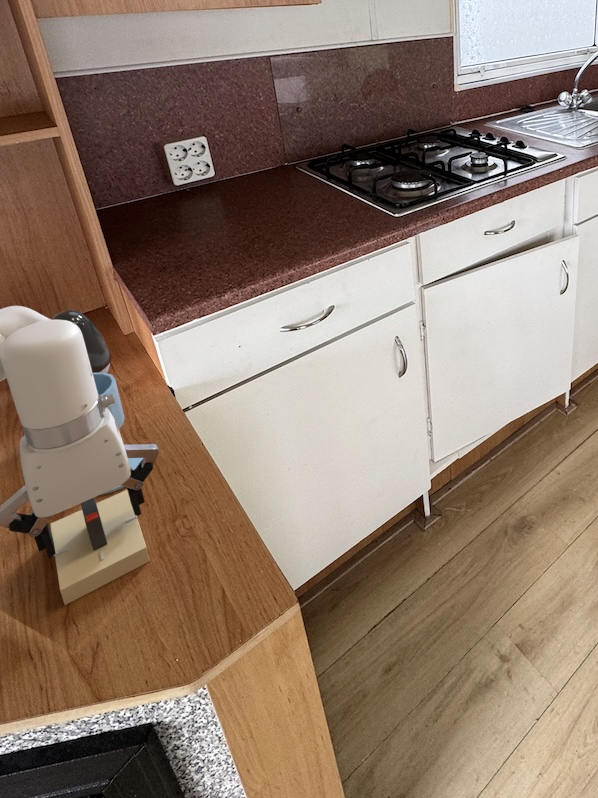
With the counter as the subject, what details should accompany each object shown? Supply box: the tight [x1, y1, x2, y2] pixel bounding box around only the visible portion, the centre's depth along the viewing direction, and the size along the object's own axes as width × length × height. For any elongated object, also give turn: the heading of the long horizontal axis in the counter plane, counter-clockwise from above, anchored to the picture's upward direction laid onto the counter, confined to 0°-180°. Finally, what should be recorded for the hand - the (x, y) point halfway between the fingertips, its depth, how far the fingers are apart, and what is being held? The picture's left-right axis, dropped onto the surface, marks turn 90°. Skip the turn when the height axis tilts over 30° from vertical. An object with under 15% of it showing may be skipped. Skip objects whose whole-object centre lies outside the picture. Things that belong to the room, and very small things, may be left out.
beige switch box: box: [49, 489, 151, 606], centre depth 76 cm, size 12×9×3 cm
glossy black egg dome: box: [50, 309, 112, 373], centre depth 107 cm, size 10×10×15 cm
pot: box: [93, 372, 125, 430], centre depth 96 cm, size 9×9×8 cm
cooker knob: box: [80, 497, 107, 551], centre depth 75 cm, size 5×2×5 cm, turn 42°
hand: (95, 528), depth 75 cm, fingers open, 8 cm apart
